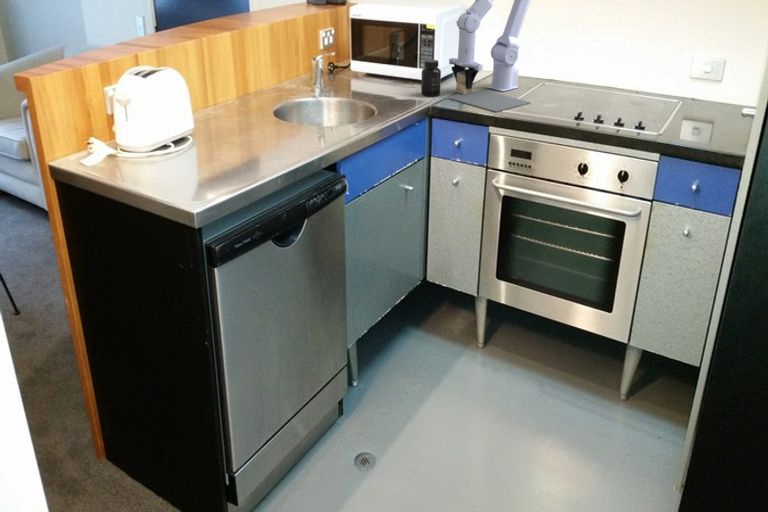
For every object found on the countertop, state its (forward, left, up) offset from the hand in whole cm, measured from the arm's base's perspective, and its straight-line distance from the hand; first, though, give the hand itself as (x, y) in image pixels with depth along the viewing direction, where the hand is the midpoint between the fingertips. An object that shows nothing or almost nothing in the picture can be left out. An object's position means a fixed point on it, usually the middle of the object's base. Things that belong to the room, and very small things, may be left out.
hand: (463, 87), depth 258 cm
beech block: (0, 0, -2) cm, 2 cm away
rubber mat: (+2, +14, -2) cm, 14 cm away
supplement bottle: (+12, -5, -2) cm, 13 cm away
